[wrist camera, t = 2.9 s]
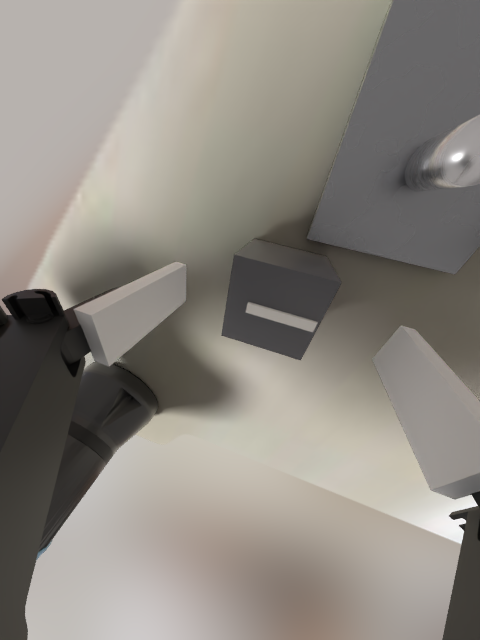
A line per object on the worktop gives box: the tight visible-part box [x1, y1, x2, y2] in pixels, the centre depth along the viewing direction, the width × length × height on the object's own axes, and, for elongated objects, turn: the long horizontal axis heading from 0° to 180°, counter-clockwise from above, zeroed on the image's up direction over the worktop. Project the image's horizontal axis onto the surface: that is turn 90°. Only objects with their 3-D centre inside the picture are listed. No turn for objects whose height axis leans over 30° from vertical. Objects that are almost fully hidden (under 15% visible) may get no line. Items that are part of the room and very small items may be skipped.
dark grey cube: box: [222, 239, 342, 360], centre depth 14 cm, size 6×6×6 cm
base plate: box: [307, 0, 480, 274], centre depth 9 cm, size 10×10×4 cm
